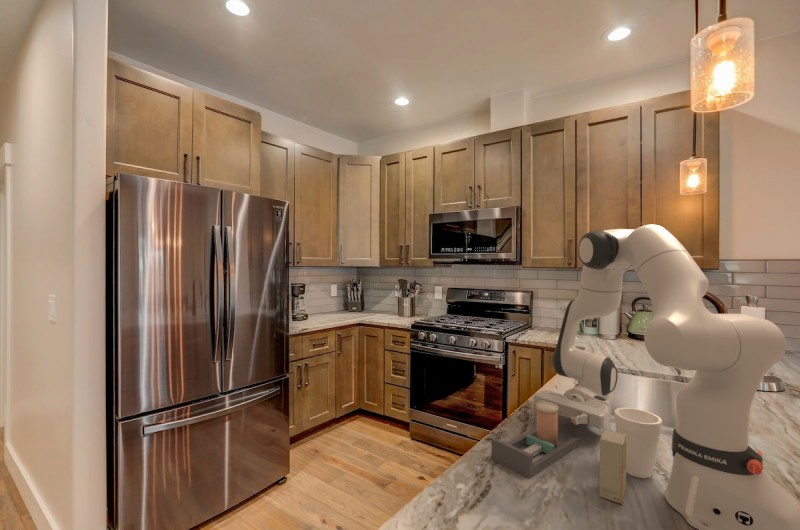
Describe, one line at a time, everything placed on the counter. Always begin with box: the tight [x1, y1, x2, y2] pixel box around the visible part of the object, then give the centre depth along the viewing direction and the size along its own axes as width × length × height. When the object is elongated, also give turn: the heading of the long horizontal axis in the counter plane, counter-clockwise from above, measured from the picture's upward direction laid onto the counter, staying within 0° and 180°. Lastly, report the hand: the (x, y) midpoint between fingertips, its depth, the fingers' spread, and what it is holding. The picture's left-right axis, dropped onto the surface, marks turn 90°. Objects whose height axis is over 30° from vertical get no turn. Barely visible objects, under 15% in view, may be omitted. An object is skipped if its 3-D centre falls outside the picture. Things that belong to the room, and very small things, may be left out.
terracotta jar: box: [535, 401, 559, 449], centre depth 98 cm, size 5×5×11 cm
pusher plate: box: [522, 434, 555, 457], centre depth 94 cm, size 7×7×2 cm
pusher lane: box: [490, 427, 579, 479], centre depth 94 cm, size 23×10×5 cm, turn 130°
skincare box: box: [598, 428, 627, 505], centre depth 78 cm, size 6×4×12 cm
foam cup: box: [613, 407, 663, 479], centre depth 87 cm, size 10×9×13 cm
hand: (556, 414), depth 101 cm, fingers open, 8 cm apart
